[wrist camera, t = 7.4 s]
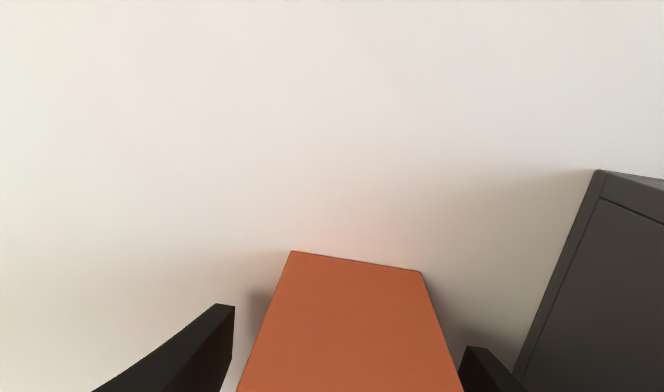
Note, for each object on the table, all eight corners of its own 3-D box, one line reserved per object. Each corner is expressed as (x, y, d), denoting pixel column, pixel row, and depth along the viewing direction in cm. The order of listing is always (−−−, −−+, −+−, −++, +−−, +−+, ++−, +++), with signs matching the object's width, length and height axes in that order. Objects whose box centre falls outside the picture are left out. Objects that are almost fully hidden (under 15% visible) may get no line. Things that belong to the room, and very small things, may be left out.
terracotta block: (393, 373, 12) (422, 575, 7) (278, 353, 12) (224, 539, 7) (420, 271, 11) (479, 431, 6) (290, 249, 11) (235, 388, 6)
